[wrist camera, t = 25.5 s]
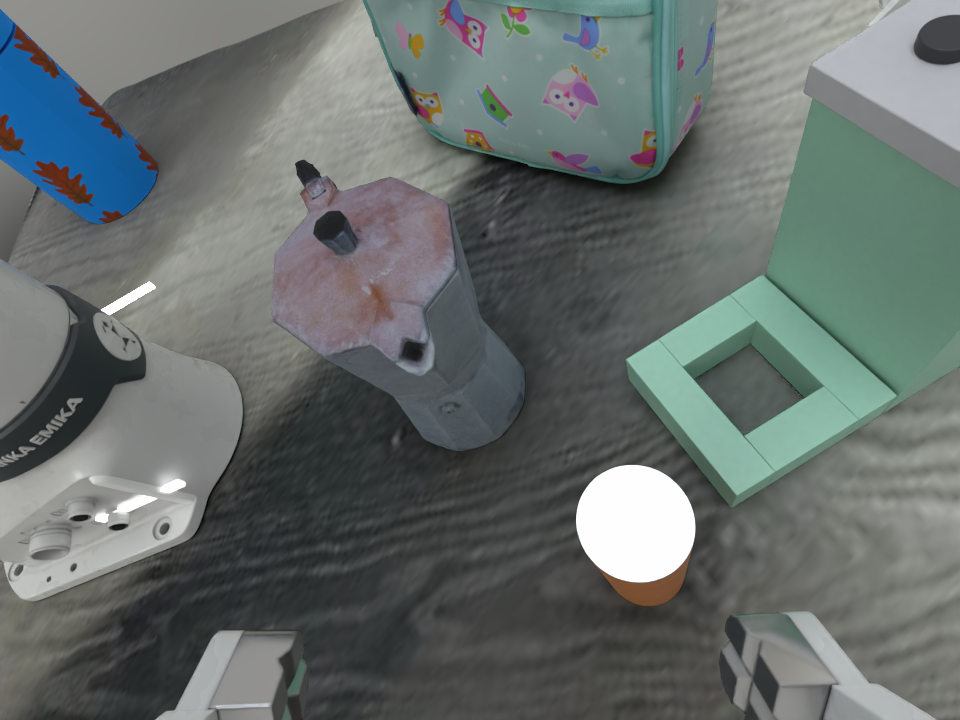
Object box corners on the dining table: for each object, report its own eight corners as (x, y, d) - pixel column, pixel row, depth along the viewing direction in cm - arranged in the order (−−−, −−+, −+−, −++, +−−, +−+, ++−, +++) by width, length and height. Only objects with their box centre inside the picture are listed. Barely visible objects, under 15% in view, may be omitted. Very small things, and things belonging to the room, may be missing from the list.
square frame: (731, 508, 32) (736, 496, 29) (628, 379, 37) (625, 359, 35) (879, 415, 32) (898, 395, 29) (755, 299, 37) (762, 273, 35)
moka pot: (464, 518, 36) (285, 399, 19) (363, 359, 44) (175, 177, 27) (580, 429, 37) (507, 236, 20) (460, 288, 45) (334, 65, 28)
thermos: (75, 238, 64) (-221, 32, 43) (88, 175, 69) (-169, -35, 48) (156, 203, 62) (-108, -29, 41) (162, 142, 68) (-68, -91, 46)
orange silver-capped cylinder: (634, 621, 31) (618, 606, 20) (590, 550, 33) (555, 502, 22) (702, 579, 31) (722, 541, 20) (653, 510, 33) (647, 444, 22)
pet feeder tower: (884, 419, 32) (1087, 204, 16) (752, 296, 37) (812, 50, 22) (988, 354, 32) (1290, 77, 16) (841, 240, 37) (963, -46, 22)
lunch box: (402, 144, 55) (271, -109, 36) (458, 72, 57) (362, -198, 39) (663, 213, 42) (662, -119, 24) (719, 117, 45) (756, -247, 27)
